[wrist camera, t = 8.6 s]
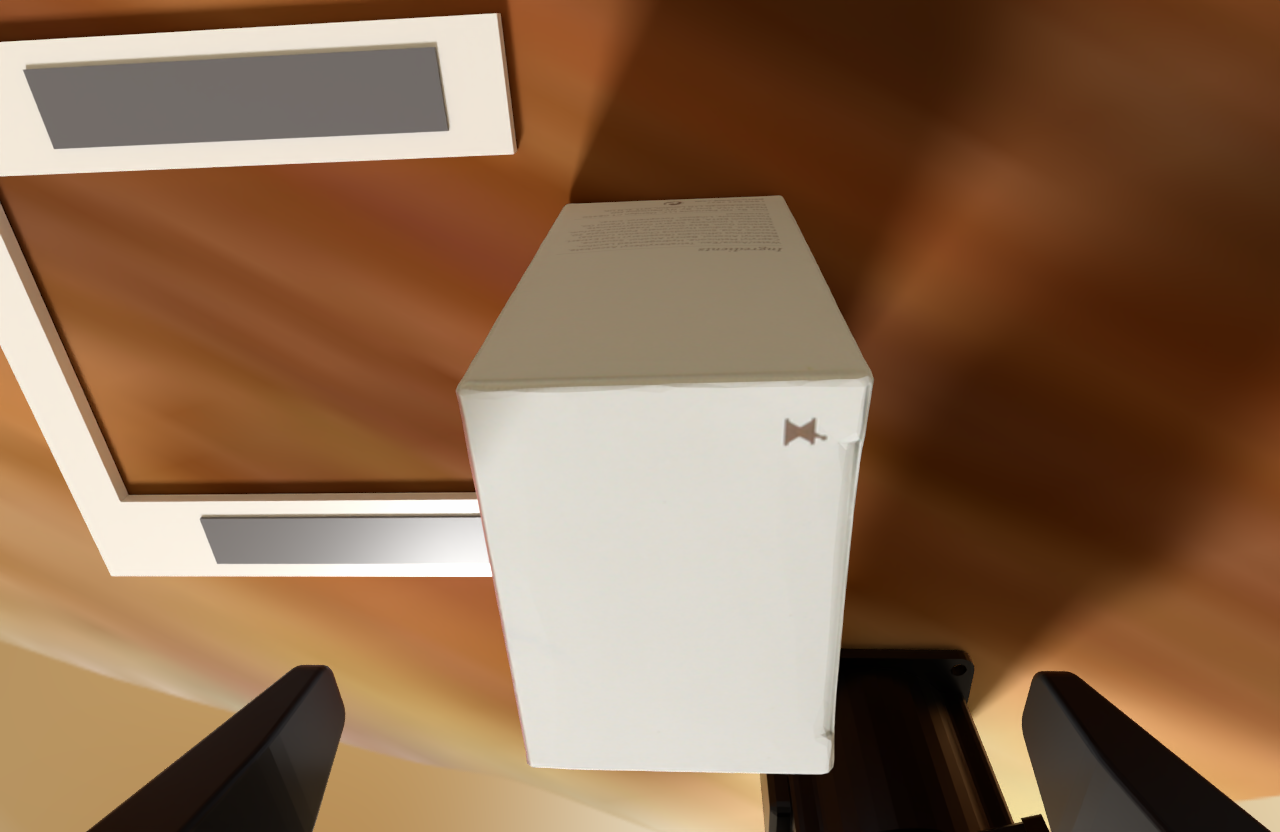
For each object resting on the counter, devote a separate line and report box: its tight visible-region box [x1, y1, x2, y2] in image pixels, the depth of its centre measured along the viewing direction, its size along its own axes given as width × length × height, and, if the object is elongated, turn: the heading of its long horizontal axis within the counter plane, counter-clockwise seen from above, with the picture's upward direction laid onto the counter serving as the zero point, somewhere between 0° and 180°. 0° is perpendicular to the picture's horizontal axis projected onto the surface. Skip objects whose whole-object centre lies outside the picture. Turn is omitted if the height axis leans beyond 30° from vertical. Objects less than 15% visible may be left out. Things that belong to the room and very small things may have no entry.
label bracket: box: [0, 13, 517, 576], centre depth 21 cm, size 16×16×1 cm
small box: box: [456, 195, 874, 774], centre depth 16 cm, size 8×6×10 cm
